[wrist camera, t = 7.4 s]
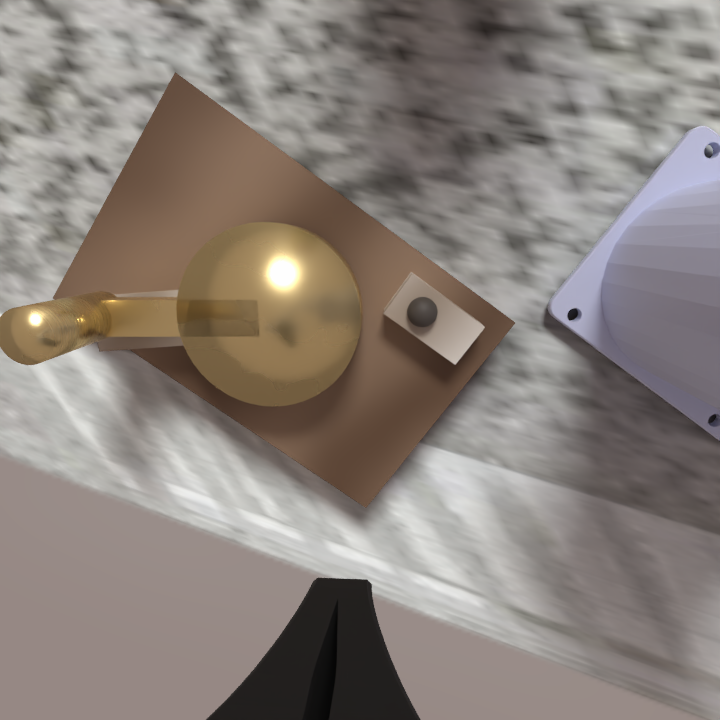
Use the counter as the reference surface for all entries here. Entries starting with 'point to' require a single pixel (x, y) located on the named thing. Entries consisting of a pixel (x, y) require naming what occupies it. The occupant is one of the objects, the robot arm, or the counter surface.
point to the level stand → (334, 224)
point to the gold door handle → (224, 315)
